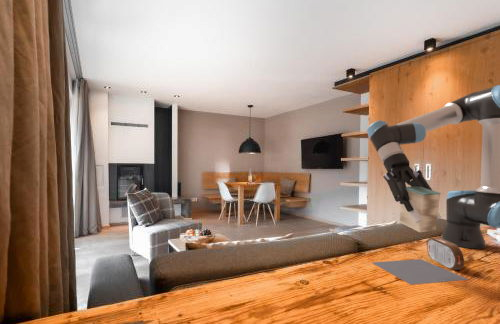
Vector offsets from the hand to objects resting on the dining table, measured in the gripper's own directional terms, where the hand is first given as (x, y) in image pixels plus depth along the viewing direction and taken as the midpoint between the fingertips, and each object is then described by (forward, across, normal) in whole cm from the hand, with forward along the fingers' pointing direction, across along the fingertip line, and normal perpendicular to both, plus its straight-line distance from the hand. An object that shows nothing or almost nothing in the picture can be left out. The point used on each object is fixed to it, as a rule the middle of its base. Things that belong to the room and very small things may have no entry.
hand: (427, 219), depth 83 cm
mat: (+12, +2, -12) cm, 17 cm away
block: (0, 0, -5) cm, 5 cm away
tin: (+11, -12, -16) cm, 23 cm away
